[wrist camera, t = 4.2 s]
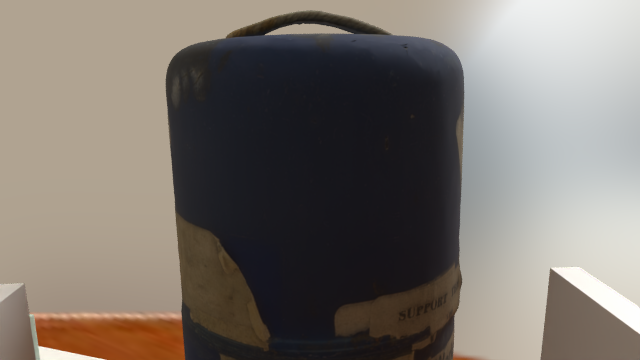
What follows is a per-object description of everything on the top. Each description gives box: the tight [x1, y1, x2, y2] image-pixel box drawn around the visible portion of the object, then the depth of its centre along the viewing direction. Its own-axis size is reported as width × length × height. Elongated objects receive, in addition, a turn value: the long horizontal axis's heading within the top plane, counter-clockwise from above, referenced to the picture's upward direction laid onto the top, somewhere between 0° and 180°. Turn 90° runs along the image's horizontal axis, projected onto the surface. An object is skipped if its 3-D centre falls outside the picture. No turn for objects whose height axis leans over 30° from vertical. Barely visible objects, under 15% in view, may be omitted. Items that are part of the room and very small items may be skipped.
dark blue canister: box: [166, 11, 464, 360], centre depth 17 cm, size 10×10×18 cm
